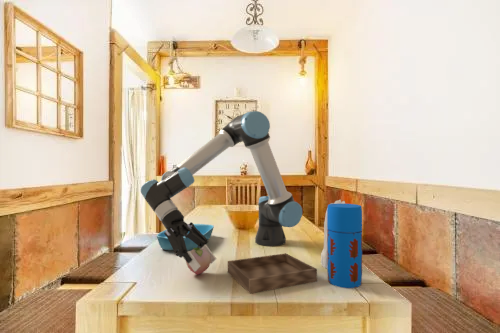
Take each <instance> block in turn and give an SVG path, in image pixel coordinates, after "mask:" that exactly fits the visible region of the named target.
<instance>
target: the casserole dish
mask: <svg viewBox="0 0 500 333" xmlns="http://www.w3.org/2000/svg"><path fill="white" fill-rule="evenodd" d="M193 224H194V226H195V227H196V228H197V229H198V230H199V231H200V232H201V233H202V234H203V236H204V237H205V238H206V239H207V240H208V241H209V239H210V238H211V236H212V234H213V231H214V225H213V224H205V223H193ZM166 230H167V229H166V228H165V229H164V230H163V231H161V232H158V233H157V234H156V239H157V242H158V244H159V247H160V248H161V249H163V250H165V251H174V250H173V248H172V246H171V244H170V242H169V240H168V238H167V237H166V235H165V234H164V233H165V231H166ZM188 233H189V232H188ZM183 238H184V241H185V245H186V248H187V252H188V251H191V250H193V248H200V247H199V246H198V245H197V244H195V243H194V242H193V241H192V240H190V239H189V238H186V237H184V236H183Z"/></svg>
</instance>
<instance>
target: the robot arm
mask: <svg viewBox="0 0 500 333" xmlns="http://www.w3.org/2000/svg"><path fill="white" fill-rule="evenodd" d="M270 129H271V122H270V121H269V118H268V117H267V116H266V114H264V113H263V112H261V111H257V110H252V111H247V112H245V113H243V114H240V115H237V116H236V117H234V118H233V119H232V120H231V121H229V123H228V124H226V125H225V126H223V127H222V128H221V129H220V130H219V133H218V134H216V135H215V136H214V137H213V138H212V139H210V140H209V141H207V142H206V143H205V144H203V145H202V146H201V147H199V148H198V149H197V150H196V151H194V152H193V153H191V154H190V155H189V156H187V157H186V158H184V159H183V160H182V161H181V162H179V163H178V164H177V165H175V166H174V167H173V168H171V169H170V170H169V171H166V172H164V173H163V174H162V176H161V180H160V181H158V180H157V179H155V178H154V179H151V180H148V181H147V180H146V182H145V183H143V184H142V185H141V187H140V194H141V195H142V197H143V199H144V200H145V202H146V203H147V204H148V206H149V207H150V209H152V211H153V212H154V213H155V215H156V217H157V218H158V219H159V221H160V222H161V224H162V225H163V226H164V228H165V230H166V229H167V230H166V231H165V233H164V234H165V235H166V237H167V238H168V240H169V242H170V244H171V246H172V248H173V250H172V251H173V252H174V255H175V256H177V257H179V258H182V257H183V259H184V260H185V263H186V262H187V263H189V265H190V266H191V267H192V269H193V270H194V272H196V271H197V270H198V269H199V268H200V267H201V266H200V265H199V263H198V262H197V260H196V259H195V258H194V256H193V255H192V253H191V252H190V251H187V248H186V245H185V241H184V238H183V236H184V237H186V238H189V239H190V240H192V241H193V242H194V243H195V244H197V245H198V246H199V248H200V249H204V250H206V251H207V252H208V253H209V254H210V256H211V263H210V264H214V262H215V261H216V260H217V257H216V255H214V253H213V252H212V250H211V249H210V247H209V246H208V245H207V244H208V243H209V240H207V239H206V238H205V237H204V236H203V234H202V233H201V232H200V231H199V230H198V229H197V228H196V227H195V226H194V224H195V223H193V222H190V223H187V222H186V221H185V220H184V219H185V216H184V214H183V213H182V212H181V211H180V209H178V206H177V205H176V204H175V203H174V201H173V200H172V199H171V198H173V197H175V196H176V195H178V194H179V193H181V192H183V191H184V190H186V189H187V188H190V186H192V185H193V184H194V183H195V177H194V175H195V174H197V172H199V171H200V170H202V169H203V168H204V167H206V165H208V164H209V163H211V161H213V160H215V158H217V157H218V156H220V155H221V154H222V153H224V152H225V151H226V150H227V149H229V148H234V147H235V146H236V145H238V144H240V143H241V142H242V143H243V145H244V147H245V149H249V150H250V153H251V155H252V158H253V160H254V163H255V166H256V167H257V170H258V173H259V175H260V178H261V180H262V183H263V185H264V188H265V191H266V194H267V196H264V195H263V196H260V197H259V198H258V204H257V205H258V228H257V232H256V234H255V238H254V239H255V240H254V242H255V244H257V245H260V246H266V247H267V246H269V247H273V246H274V247H276V246H282V245H285V244H286V243H287V238H286V235H285V231H284V228H293V227H295V226H297V225H298V224H299V223H300V222H301V219H302V217H303V207H302V206H301V204H300V203H298V201H295V200H294V197H293V196H294V195H293V193H291V192H290V191H287V188H286V185H285V183H284V180H283V178H282V174H281V172H280V169H279V167H278V165H277V162H276V159H275V156H274V154H273V152H272V149H271V146H270V144H269V141H270V139H271V136H270V134H269V132H270ZM188 232H189V233H188ZM187 263H186V264H187Z"/></svg>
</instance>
